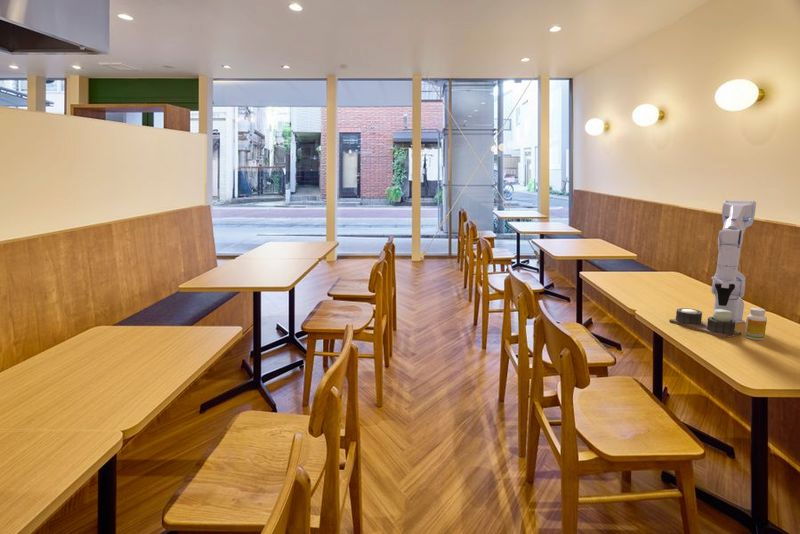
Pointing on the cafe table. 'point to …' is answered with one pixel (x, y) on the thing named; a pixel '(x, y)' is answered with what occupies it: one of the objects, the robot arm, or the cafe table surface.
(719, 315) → the peg sage
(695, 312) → the peg cream
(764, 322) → the supplement bottle
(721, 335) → the collar board
